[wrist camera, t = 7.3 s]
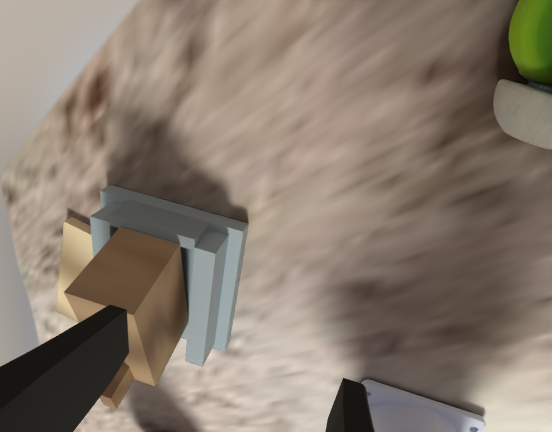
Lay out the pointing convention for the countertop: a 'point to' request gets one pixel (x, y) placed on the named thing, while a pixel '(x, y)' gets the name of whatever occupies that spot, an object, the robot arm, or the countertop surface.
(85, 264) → the plank
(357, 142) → the countertop surface
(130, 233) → the tan pegged block
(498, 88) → the rainbow segmented toy
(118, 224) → the jig
